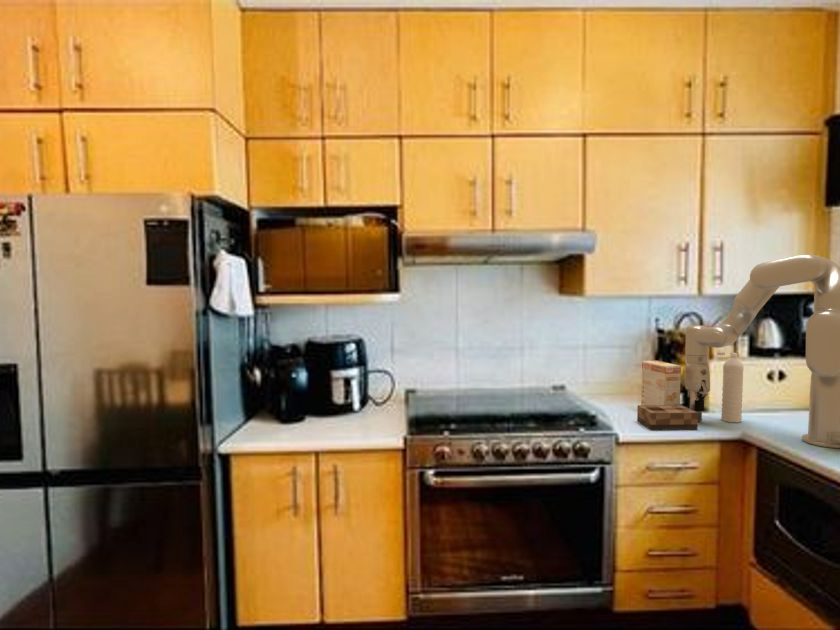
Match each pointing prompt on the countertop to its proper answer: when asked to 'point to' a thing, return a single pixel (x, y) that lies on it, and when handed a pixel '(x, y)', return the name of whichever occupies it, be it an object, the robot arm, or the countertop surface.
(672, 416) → the walnut block
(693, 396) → the steel pin
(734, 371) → the water bottle
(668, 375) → the coffeecake box
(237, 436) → the countertop surface
